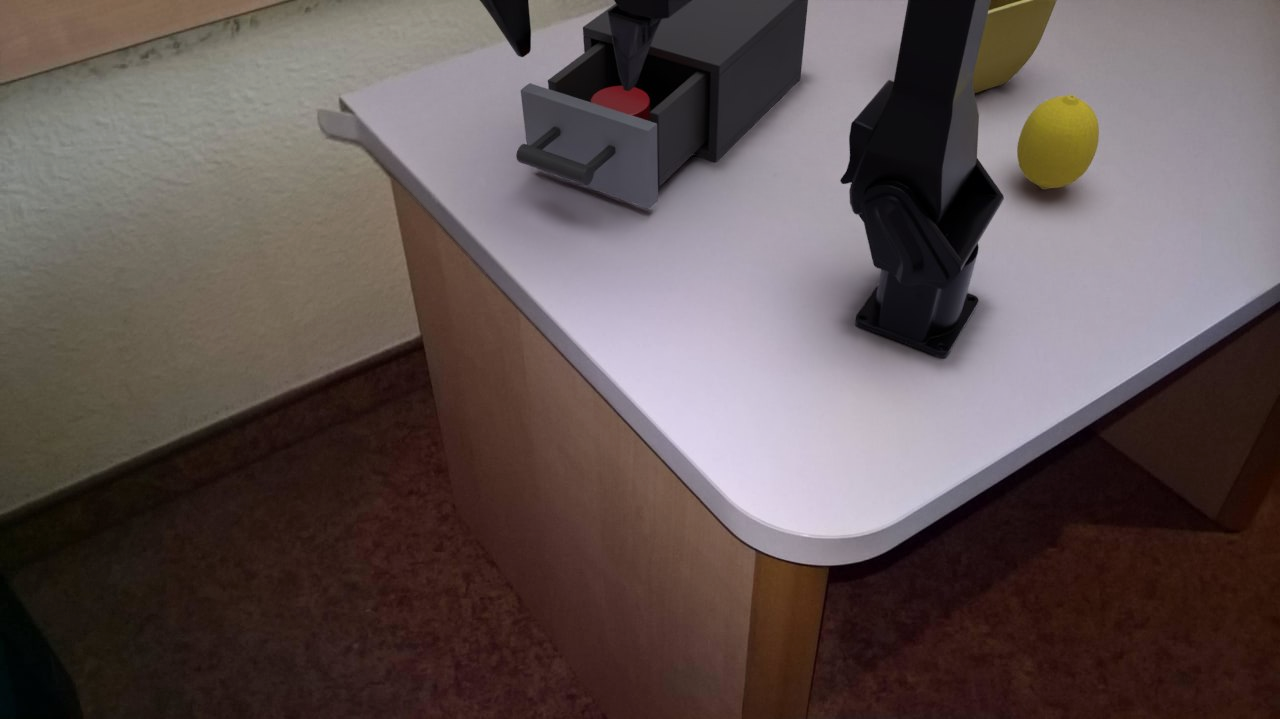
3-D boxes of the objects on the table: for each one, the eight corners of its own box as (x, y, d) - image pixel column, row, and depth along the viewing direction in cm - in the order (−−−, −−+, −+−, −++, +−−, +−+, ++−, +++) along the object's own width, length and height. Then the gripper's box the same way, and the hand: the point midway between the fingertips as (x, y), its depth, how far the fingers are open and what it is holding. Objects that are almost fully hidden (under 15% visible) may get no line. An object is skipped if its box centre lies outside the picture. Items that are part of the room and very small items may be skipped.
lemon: (995, 193, 80) (1020, 101, 74) (1023, 160, 83) (1049, 69, 77) (1065, 217, 77) (1096, 124, 72) (1091, 183, 80) (1123, 91, 75)
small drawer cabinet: (716, 162, 83) (719, 65, 77) (588, 120, 88) (582, 26, 82) (800, 78, 93) (809, -14, 87) (680, 45, 98) (681, -45, 92)
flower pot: (894, 70, 93) (910, -27, 87) (970, 47, 96) (991, -49, 90) (958, 114, 88) (980, 14, 81) (1036, 88, 90) (1063, -10, 84)
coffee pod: (630, 167, 80) (628, 122, 77) (581, 150, 81) (578, 106, 79) (661, 139, 82) (661, 94, 80) (613, 123, 84) (611, 79, 81)
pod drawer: (617, 241, 75) (613, 161, 70) (494, 194, 79) (482, 117, 75) (741, 120, 86) (745, 45, 81) (627, 86, 91) (624, 12, 86)
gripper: (760, -180, 63) (747, 56, 73) (519, -223, 70) (539, -4, 81) (662, -121, 56) (663, 128, 67) (408, -176, 64) (446, 56, 74)
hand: (575, 70), depth 72 cm, fingers open, 9 cm apart
